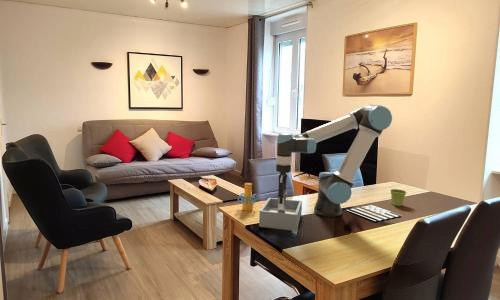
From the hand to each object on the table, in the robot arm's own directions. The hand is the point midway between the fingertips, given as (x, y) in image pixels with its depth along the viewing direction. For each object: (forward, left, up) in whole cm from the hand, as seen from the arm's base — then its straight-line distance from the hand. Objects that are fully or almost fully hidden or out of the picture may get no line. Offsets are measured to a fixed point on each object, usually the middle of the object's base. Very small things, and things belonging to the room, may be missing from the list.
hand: (281, 208), depth 188 cm
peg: (0, 0, -3) cm, 3 cm away
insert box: (0, 0, -7) cm, 7 cm away
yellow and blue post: (+21, -12, -7) cm, 25 cm away
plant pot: (-64, -50, -7) cm, 82 cm away
